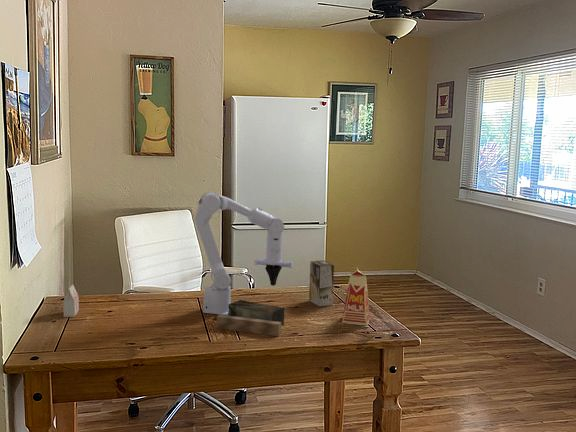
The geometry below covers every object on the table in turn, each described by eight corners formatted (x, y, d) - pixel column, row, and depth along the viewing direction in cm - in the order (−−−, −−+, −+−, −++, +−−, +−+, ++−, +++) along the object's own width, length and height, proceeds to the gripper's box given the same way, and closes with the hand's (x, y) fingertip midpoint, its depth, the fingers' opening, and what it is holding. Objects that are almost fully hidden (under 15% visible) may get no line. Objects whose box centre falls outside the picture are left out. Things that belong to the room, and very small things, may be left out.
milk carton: (367, 325, 204) (370, 269, 202) (341, 323, 206) (343, 267, 203) (369, 317, 213) (372, 264, 211) (344, 315, 215) (346, 262, 212)
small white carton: (63, 317, 205) (62, 289, 203) (68, 311, 211) (67, 284, 210) (74, 316, 205) (74, 289, 204) (78, 311, 212) (78, 284, 210)
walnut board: (216, 328, 198) (216, 316, 197) (219, 325, 200) (219, 314, 199) (278, 336, 191) (278, 324, 191) (280, 333, 194) (281, 322, 193)
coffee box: (333, 305, 228) (335, 264, 226) (318, 306, 225) (320, 266, 223) (322, 298, 236) (323, 260, 234) (308, 300, 233) (309, 261, 231)
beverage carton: (240, 314, 214) (240, 297, 213) (285, 324, 204) (286, 306, 203) (227, 320, 207) (227, 302, 206) (273, 330, 197) (274, 311, 196)
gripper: (252, 249, 216) (251, 285, 217) (290, 252, 212) (288, 289, 214) (258, 246, 222) (257, 281, 224) (295, 249, 218) (294, 284, 220)
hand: (273, 284), depth 219 cm, fingers closed
